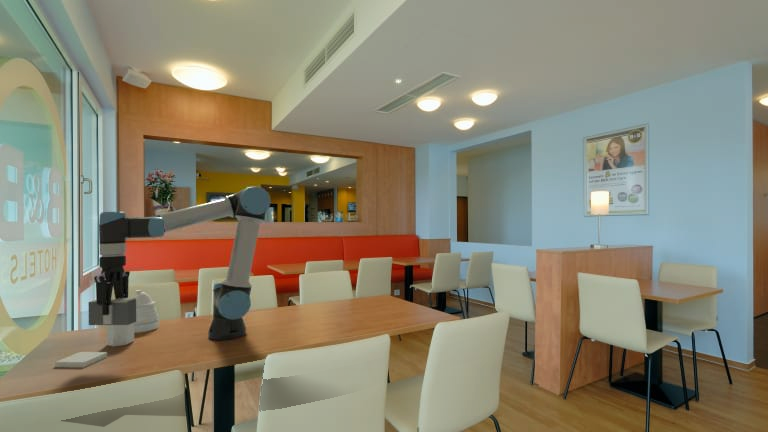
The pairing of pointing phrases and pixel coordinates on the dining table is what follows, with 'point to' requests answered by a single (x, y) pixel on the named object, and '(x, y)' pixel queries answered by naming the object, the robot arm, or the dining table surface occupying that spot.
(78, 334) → the dining table surface
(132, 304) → the grey rectangular block
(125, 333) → the jar
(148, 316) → the honey pot
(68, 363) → the tile
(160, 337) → the dining table surface
